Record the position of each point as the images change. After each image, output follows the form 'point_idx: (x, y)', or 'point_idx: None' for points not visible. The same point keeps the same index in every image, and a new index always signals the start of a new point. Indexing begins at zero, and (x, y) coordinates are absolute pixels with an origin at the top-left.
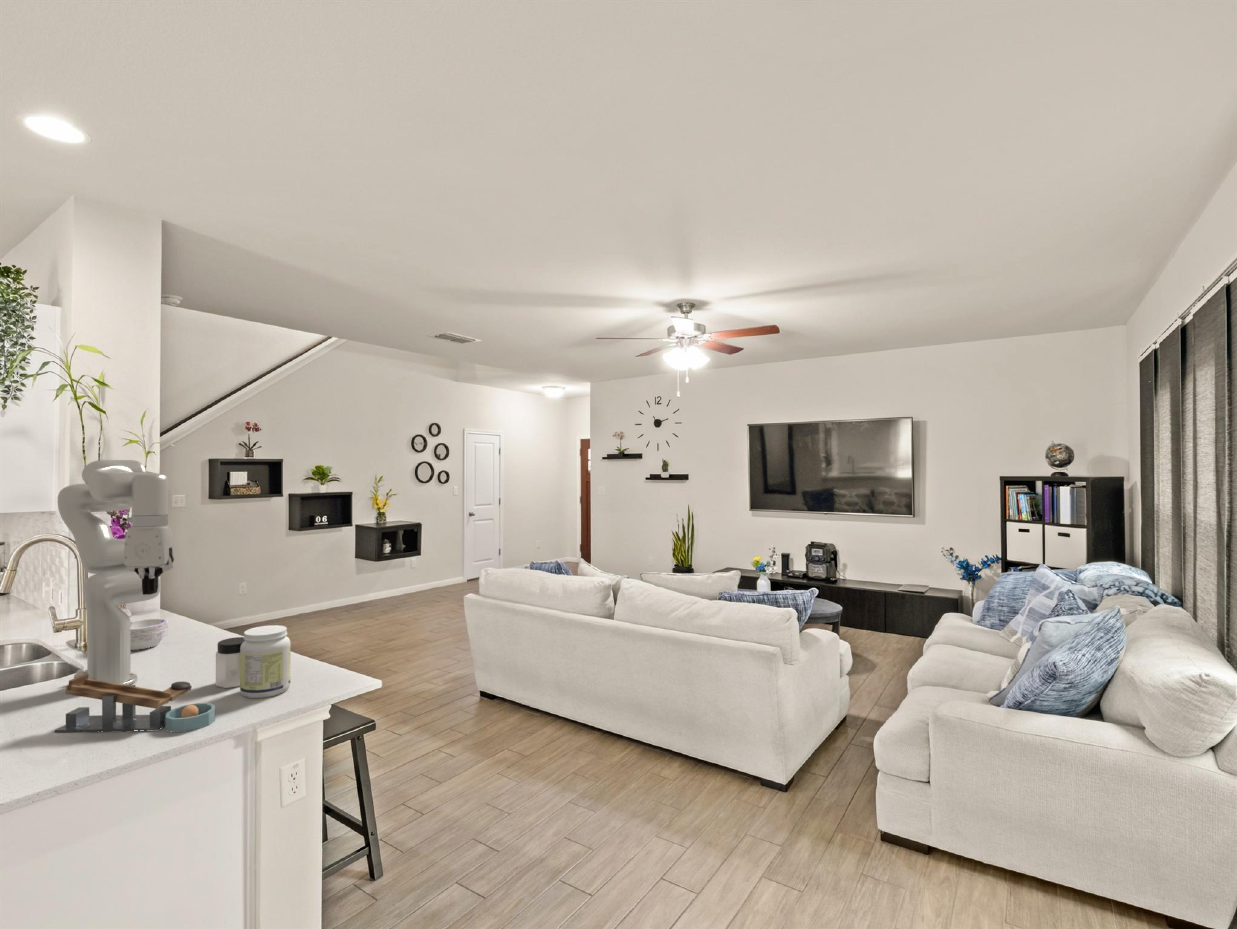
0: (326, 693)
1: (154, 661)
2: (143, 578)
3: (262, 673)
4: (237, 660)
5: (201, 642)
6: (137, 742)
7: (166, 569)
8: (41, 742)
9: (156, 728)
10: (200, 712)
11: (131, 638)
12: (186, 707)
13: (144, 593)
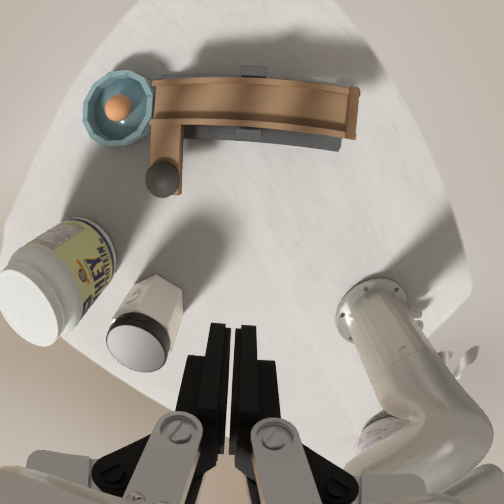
0: (12, 234)
1: (344, 393)
2: (261, 424)
3: (46, 231)
4: (125, 307)
5: (311, 443)
6: (172, 36)
7: (57, 462)
8: (337, 54)
9: (163, 75)
10: (121, 139)
11: (389, 426)
12: (115, 101)
13: (243, 327)
